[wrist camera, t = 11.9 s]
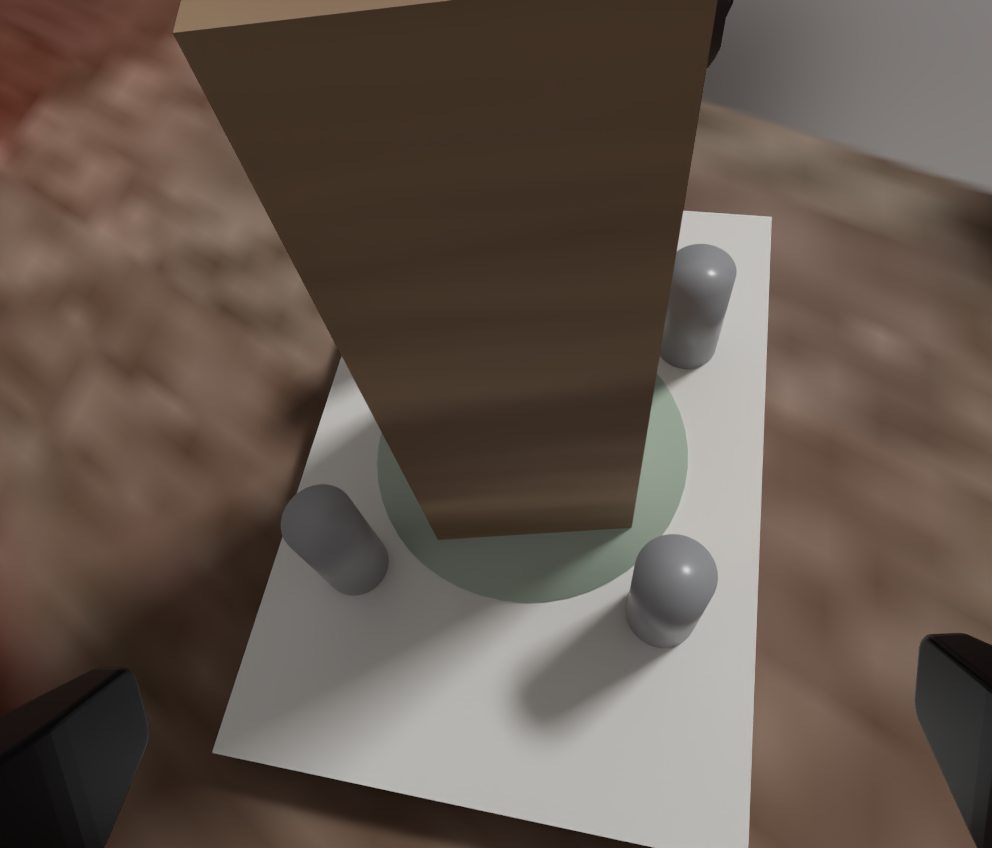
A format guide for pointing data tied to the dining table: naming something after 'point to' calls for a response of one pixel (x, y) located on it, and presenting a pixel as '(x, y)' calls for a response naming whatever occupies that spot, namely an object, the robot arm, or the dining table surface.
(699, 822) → the plate
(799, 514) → the dining table surface
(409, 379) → the walnut post
